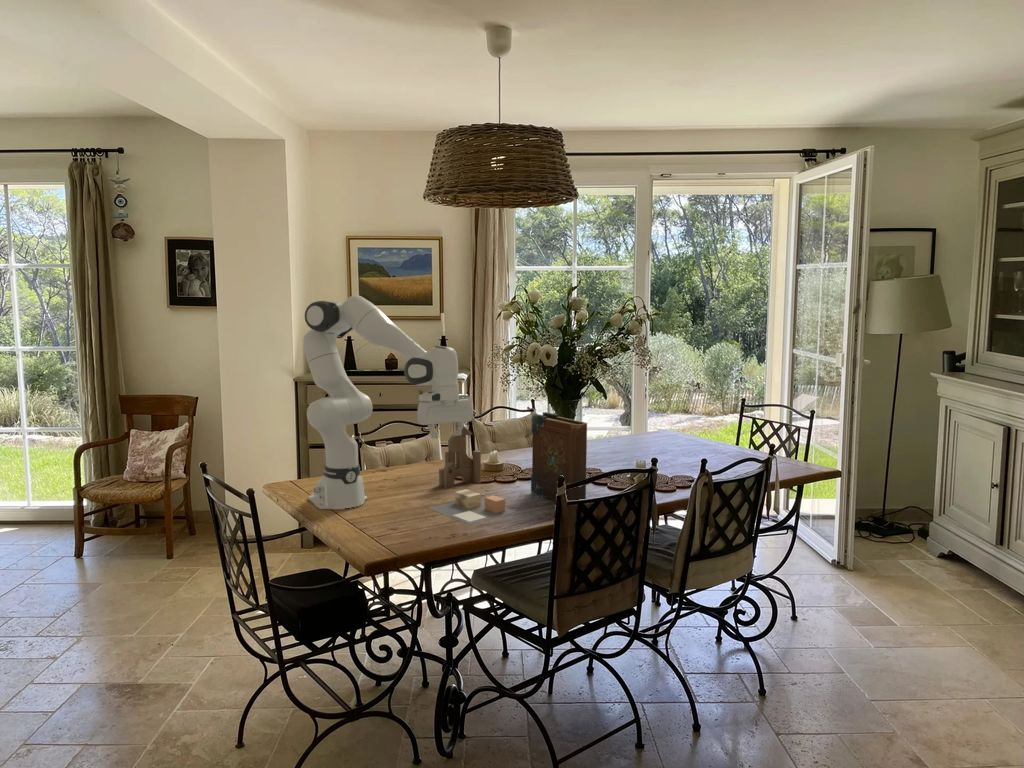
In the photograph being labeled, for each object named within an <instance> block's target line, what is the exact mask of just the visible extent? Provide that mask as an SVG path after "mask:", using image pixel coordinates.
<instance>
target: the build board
mask: <svg viewBox="0 0 1024 768" xmlns="http://www.w3.org/2000/svg"><path fill="white" fill-rule="evenodd" d="M428 509H429V510H432V511H435V512H437V513H438V514H439V513H440V514H441V515H445V516H446V517H450V518H452V519H454V520H457V521H459V522H462V523H465V524H468V525H473V524H478V523H481V522H484V521H489V520H492V519H495V518H499V517H504V516H508V515H509V514H510V515H511V514H514V513H517V511H516V510H513V509H510V508H508V507H505V511H502V512H498V513H495V512H492V511H489V510H487V509H485V499H481V505H480V506H476V507H472V508H467V507H465V506H462V505H459V504H456V503H455V501H451V502H447V503H444V504H439V505H435V506H431V507H428Z"/></svg>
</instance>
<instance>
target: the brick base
mask: <svg viewBox="0 0 1024 768" xmlns="http://www.w3.org/2000/svg"><path fill="white" fill-rule="evenodd" d="M481 495H482V494H481V493H478V492H476V491H473V490H470V489H462V490H457V491H454V502H455V503H456V504H459V505H462V506H465V507H467V508H472V507H476V506H480V505H481V500H482V496H481Z"/></svg>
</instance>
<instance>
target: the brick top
mask: <svg viewBox="0 0 1024 768" xmlns="http://www.w3.org/2000/svg"><path fill="white" fill-rule="evenodd" d="M484 501H485V509H487V510H489V511H492V512H495V513H498V512H502V511H505V508H506V498H503V497H500V496H497V495H488V496H485V497H484Z"/></svg>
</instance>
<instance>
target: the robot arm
mask: <svg viewBox="0 0 1024 768" xmlns="http://www.w3.org/2000/svg"><path fill="white" fill-rule="evenodd" d="M304 320H305V323H306V325H307V326H308V327H309V328H310V330H308V331H307V332H306V333H305V334H304V336H303V347H304V352H305V356H306V361H307V364H308V367H309V371H310V372H311V376H312V379H313V382H314V384H315V385H316V386H317V387H318V388H321V389H322V390H324V391H325V392H327V394H328V395H329V396H327V397H321V398H319V399H317V400H314V401H312V402H311V403H310V404H309V405H308V407H307V409H306V418H307V421H308V423H309V425H310V426H311V427H312V428H313V429H315V430H316V431H317V432H318V433H319V434H320V436H321V438H322V440H323V444H324V449H325V451H324V452H325V465H323V476H322V477H321V478H319V479H318V481H317V482H315V484H314V487H313V494H310V495H309V496H308V498H307V499H308V500H309V501H310V502H311V503H312V504H313V505H314V506H315V505H316V506H317V507H318V508H319V509H318V508H317V507H316V506H315V507H316V508H317V509H318V510H344V509H343V508H350V509H352V508H351V507H355V508H357V507H356V506H358V507H360V506H359V505H361V506H362V504H363V503H365V501H367V500H368V496H367V495H365V489H364V478H363V477H362V476H360V474H361V467H360V464H359V445H358V442H357V441H356V439H354V438H353V437H351V436H349V434H348V432H347V428H346V427H347V426H351V425H355V424H359V423H361V422H364V421H366V420H367V419H369V418H371V416H372V413H373V408H374V407H373V402H372V400H371V398H370V397H369V396H368V395H367V394H365V393H364V392H362V391H360V390H359V389H358V388H357V387H356V386H355V385H354V383H353V382H352V381H351V380H350V378H349V377H348V375H347V373H346V371H345V367H344V365H343V362H342V359H341V356H340V352H339V351H338V350H339V349H338V347H337V339H342V338H344V337H345V336H346V335H347V334H348V333H350V332H351V331H353V330H354V332H356V333H357V334H358V335H359V336H360V337H361V338H362V339H363V340H364V341H367V342H368V343H370V344H371V345H374V346H378V347H383V348H387V349H391V350H393V351H397V352H398V353H400V354H401V355H402V356H403V357H405V358H406V359H407V361H406V363H405V365H404V368H403V372H404V373H403V374H404V377H405V379H406V380H407V382H408V383H409V384H411V385H414V386H415V385H416V386H431V389H430V390H428V391H426V392H423V393H421V394H419V395H418V401H419V402H418V403H419V404H418V405H417V415H416V417H417V422H418V424H419V425H422V426H427V429H428V430H429V432H430V439H438V438H439V437H438V436H439V435H438V433H439V432H436V430H435V427H436V425H439V424H440V425H441V424H442V425H443V424H454V423H455V424H456V422H457V425H458V428H457V430H456V429H455V430H454V435H455V436H461V430H462V429H463V426H465V422H466V423H467V422H472V421H473V419H474V410H473V405H472V397H471V396H470V395H469V394H467V393H464V394H460V390H459V389H460V388H459V387H460V385H459V382H458V381H459V380H458V375H459V361H458V354H457V351H456V349H454V348H452V347H449V346H444V345H443V346H442V345H434V346H433V347H432V348H431V349H429V350H426V349H425V348H424V347H422V346H421V344H418V342H417V341H415V340H414V339H413V338H412V337H410V336H409V335H408V334H407V333H405V332H404V331H403V330H402V329H401V328H400V327H399V326H398V325H396V324H395V323H394V322H393V321H392V320H391V319H390V317H388V316H387V315H386V314H385V313H384V312H383V311H382V310H381V309H379V308H378V307H377V306H376V305H375V304H374V303H373V302H371V301H369V300H368V299H366V298H365V297H363V296H361V295H351V296H349V297H348V298H346V300H344V302H343V303H341V302H338V301H333V300H331V301H327V300H317V301H314V302H311V303H310V304H309V305H307V307H306V309H305V312H304ZM366 499H367V500H366ZM363 505H364V504H363Z"/></svg>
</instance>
